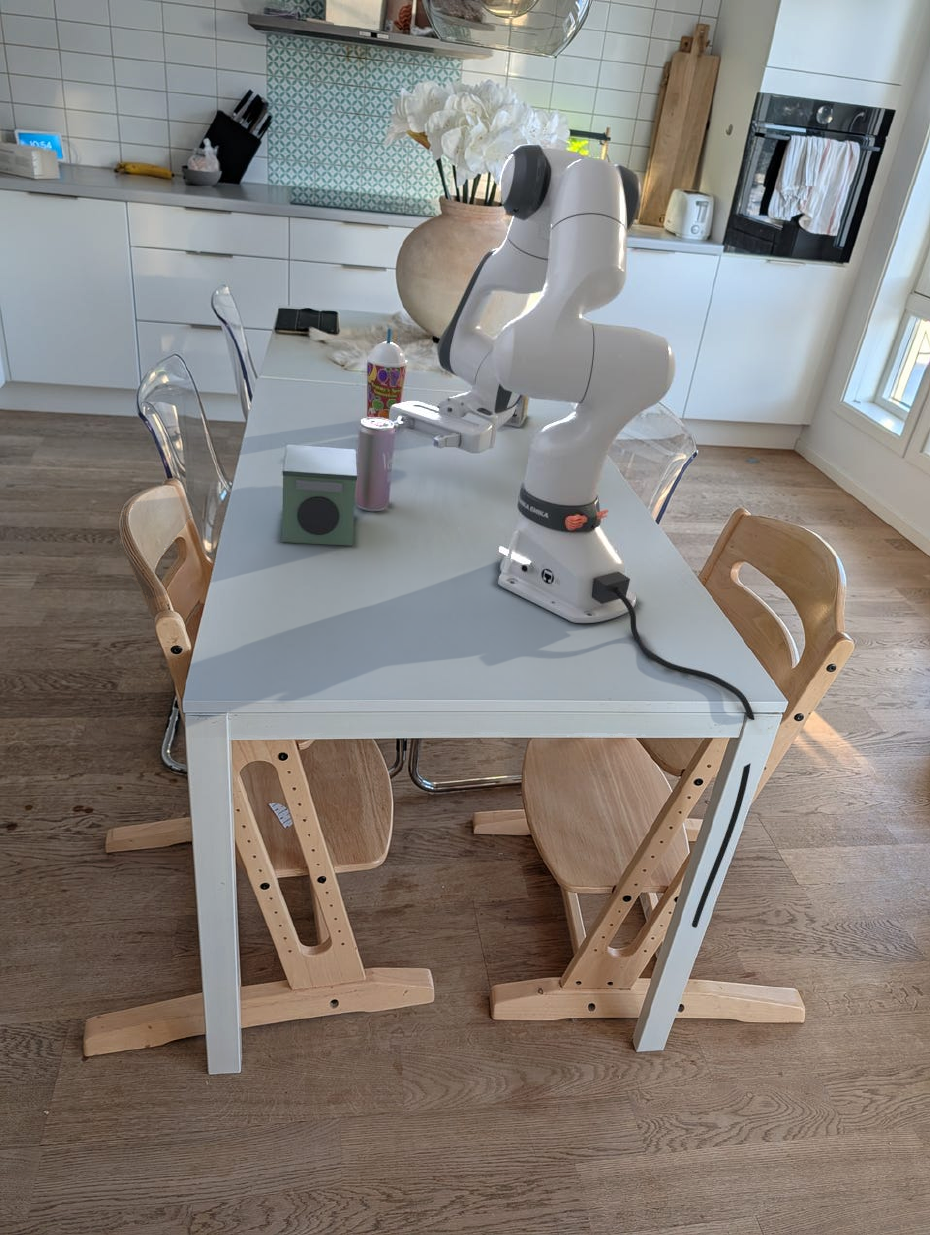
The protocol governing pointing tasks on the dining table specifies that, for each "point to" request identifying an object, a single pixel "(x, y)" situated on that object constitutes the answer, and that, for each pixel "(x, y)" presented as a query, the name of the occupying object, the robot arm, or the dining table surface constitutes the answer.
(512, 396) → the robot arm
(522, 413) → the coffee box
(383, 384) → the smoothie
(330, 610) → the dining table surface
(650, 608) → the dining table surface
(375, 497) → the beverage can
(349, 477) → the washer stand
